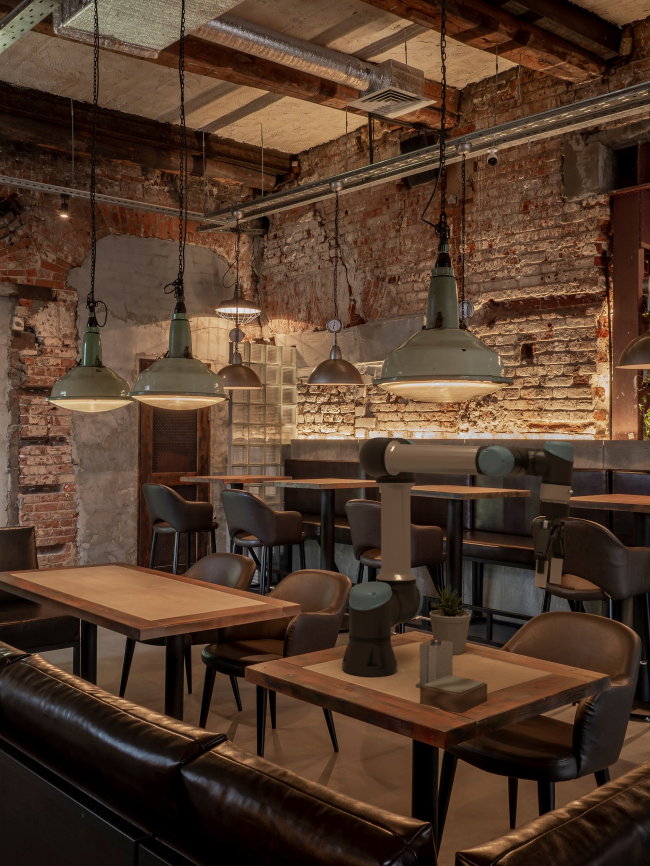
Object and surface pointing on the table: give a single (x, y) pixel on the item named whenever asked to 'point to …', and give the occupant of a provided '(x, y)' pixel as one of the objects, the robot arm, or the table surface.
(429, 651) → the housing
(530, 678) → the table surface
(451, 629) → the potted plant
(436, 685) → the stand
